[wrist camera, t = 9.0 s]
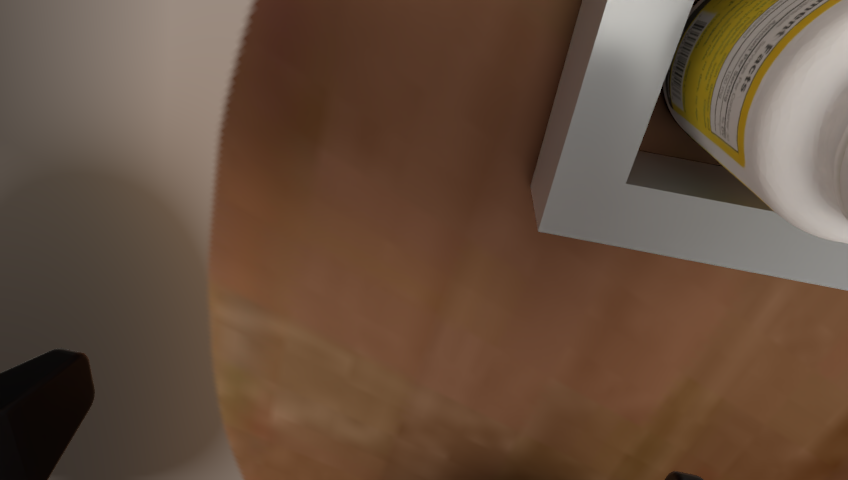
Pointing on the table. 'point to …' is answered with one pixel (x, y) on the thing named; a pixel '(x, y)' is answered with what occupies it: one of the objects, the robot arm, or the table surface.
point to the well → (653, 161)
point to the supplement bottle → (771, 102)
